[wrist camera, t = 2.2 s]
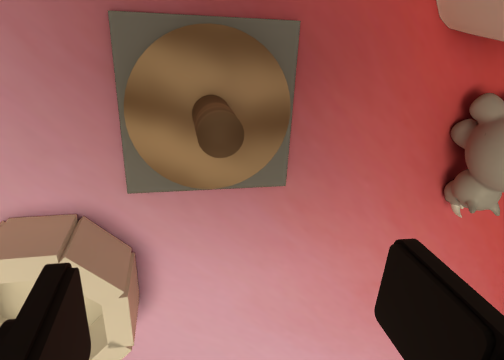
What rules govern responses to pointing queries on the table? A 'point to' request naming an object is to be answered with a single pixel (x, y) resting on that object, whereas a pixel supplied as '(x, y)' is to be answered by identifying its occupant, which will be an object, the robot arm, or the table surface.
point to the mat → (158, 24)
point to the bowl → (91, 273)
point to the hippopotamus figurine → (480, 157)
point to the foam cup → (474, 17)
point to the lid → (207, 106)
